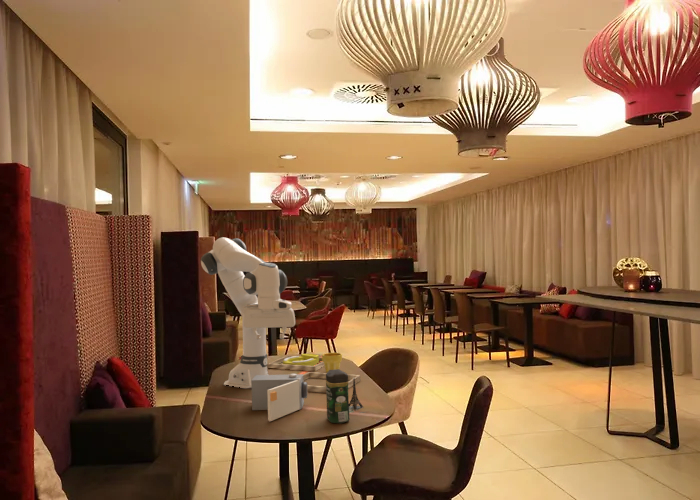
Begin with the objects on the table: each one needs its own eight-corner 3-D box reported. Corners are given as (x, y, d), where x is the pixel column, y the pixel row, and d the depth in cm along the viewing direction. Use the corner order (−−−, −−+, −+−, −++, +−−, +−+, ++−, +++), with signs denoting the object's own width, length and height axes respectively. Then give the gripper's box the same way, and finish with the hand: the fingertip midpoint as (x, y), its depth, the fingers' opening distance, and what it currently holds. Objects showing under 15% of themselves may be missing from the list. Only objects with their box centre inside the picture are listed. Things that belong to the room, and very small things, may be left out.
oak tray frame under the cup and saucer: (284, 389, 247) (284, 384, 247) (308, 377, 271) (308, 372, 271) (340, 393, 237) (340, 388, 237) (360, 380, 261) (360, 375, 261)
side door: (272, 422, 198) (271, 389, 198) (267, 421, 199) (267, 388, 199) (303, 409, 214) (302, 378, 214) (299, 408, 215) (298, 378, 215)
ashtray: (324, 364, 303) (323, 355, 303) (297, 371, 287) (297, 361, 287) (303, 361, 314) (303, 352, 314) (277, 367, 298) (276, 358, 298)
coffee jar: (324, 417, 203) (323, 368, 203) (344, 415, 205) (343, 367, 205) (330, 425, 194) (329, 374, 194) (351, 422, 196) (350, 372, 196)
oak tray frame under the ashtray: (266, 368, 294) (266, 363, 294) (287, 359, 317) (287, 355, 317) (314, 371, 284) (314, 366, 284) (332, 362, 307) (332, 357, 307)
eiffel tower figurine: (339, 404, 222) (338, 372, 222) (363, 403, 223) (362, 371, 223) (342, 415, 207) (342, 380, 207) (368, 413, 208) (367, 379, 208)
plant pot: (327, 370, 286) (327, 352, 286) (345, 371, 282) (344, 352, 282) (319, 374, 276) (318, 355, 276) (337, 375, 273) (337, 356, 273)
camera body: (252, 410, 215) (251, 377, 215) (256, 403, 224) (255, 372, 224) (306, 408, 215) (305, 376, 215) (308, 402, 224) (307, 371, 224)
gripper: (241, 305, 208) (242, 340, 208) (293, 303, 207) (294, 339, 207) (244, 303, 214) (245, 338, 214) (295, 302, 214) (296, 337, 214)
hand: (270, 338), depth 211 cm, fingers open, 8 cm apart
